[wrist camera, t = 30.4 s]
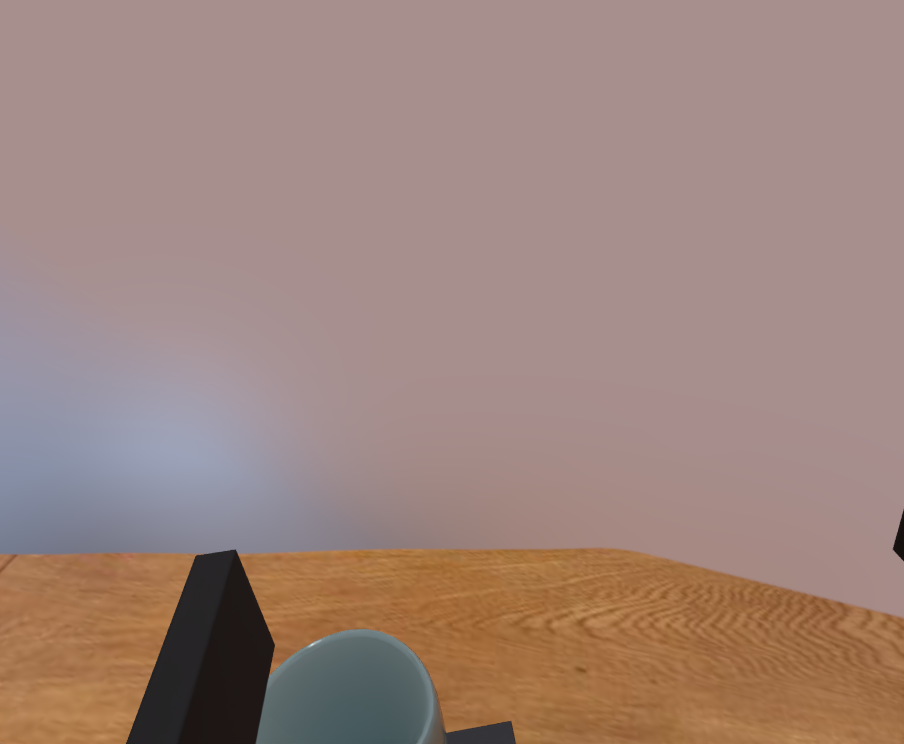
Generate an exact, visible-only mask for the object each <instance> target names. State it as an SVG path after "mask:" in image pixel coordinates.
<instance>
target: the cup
mask: <svg viewBox="0 0 904 744" xmlns="http://www.w3.org/2000/svg"><path fill="white" fill-rule="evenodd" d="M256 744H448V739H447V734H446V729H445V724H444V720H443V715H442V711H441V706H440V702H439V698H438V695H437V691H436V689H435V686H434V684H433V681H432V679H431V677H430V674H429V672H428V670H427V669H426V667H425V666H424V664H423V663H422V661H421V660H420V658H419V657H418V656H417V655H416V654H415V653H414V652H413V651H412V650H411V649H410V648H409V647H408V646H407V645H406V644H404V643H403V642H401V641H400V640H398V639H396V638H395V637H393V636H390V635H388V634H385V633H382V632H380V631H374V630H367V629H357V630H347V631H343V632H339V633H335V634H331V635H329V636H326V637H324V638H321V639H319V640H317V641H315V642H313V643H311V644H309V645H308V646H306V647H304V648H302V649H301V650H299V651H298V652H296V653H295V654H294V655H292V656H291V657H290V658H288V659H287V660H285V661H284V662H283V663H282V664H281V665H280V666H279V667H278V668H277V669H276V670H275V671H274V672H273V673H272V674H271V675H270V676H269V678H268V683H267V688H266V694H265V699H264V704H263V709H262V714H261V720H260V725H259V730H258V735H257V740H256Z"/></svg>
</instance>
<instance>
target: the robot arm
mask: <svg viewBox="0 0 904 744" xmlns="http://www.w3.org/2000/svg"><path fill="white" fill-rule="evenodd" d="M893 550H894V551H895V552H896V553H897V554H898V556H899V557H900V558H901V559H902V560H903V561H904V511H903V514H902V518H901V521H900V525H899V529H898V532H897V536H896V540H895V543H894V547H893ZM274 647H275V644H274V642H273V639H272V637H271V634H270V632H269V629H268V627H267V625H266V622H265V620H264V617H263V615H262V612H261V610H260V607H259V605H258V603H257V600H256V598H255V595H254V593H253V590H252V588H251V585H250V583H249V581H248V578H247V576H246V573H245V571H244V568H243V566H242V563H241V561H240V558H239V556H238V554H237V551H236V550H230V551H223V552H217V553H210V554H204V555H197V556H196V557H195V559H194V562H193V565H192V567H191V570H190V573H189V575H188V578H187V581H186V583H185V586H184V589H183V592H182V594H181V597H180V600H179V602H178V605H177V608H176V610H175V613H174V616H173V619H172V621H171V624H170V627H169V629H168V632H167V635H166V637H165V640H164V643H163V645H162V648H161V651H160V654H159V656H158V659H157V662H156V664H155V667H154V670H153V672H152V675H151V678H150V680H149V683H148V686H147V689H146V691H145V694H144V697H143V699H142V702H141V705H140V707H139V710H138V713H137V716H136V718H135V721H134V724H133V726H132V729H131V732H130V734H129V737H128V740H127V742H126V744H256V740H257V735H258V730H259V725H260V720H261V714H262V709H263V704H264V699H265V694H266V688H267V683H268V678H269V673H270V668H271V663H272V657H273V652H274Z"/></svg>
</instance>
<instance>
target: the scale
mask: <svg viewBox="0 0 904 744" xmlns="http://www.w3.org/2000/svg"><path fill="white" fill-rule="evenodd" d="M446 734H447V739H448V744H516V743H515V738H514V733H513V728H512V723H511V721H508V722H503V723H497V724H492V725H487V726H481V727H476V728H471V729H465V730H460V731H455V732H449V733H446Z"/></svg>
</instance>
